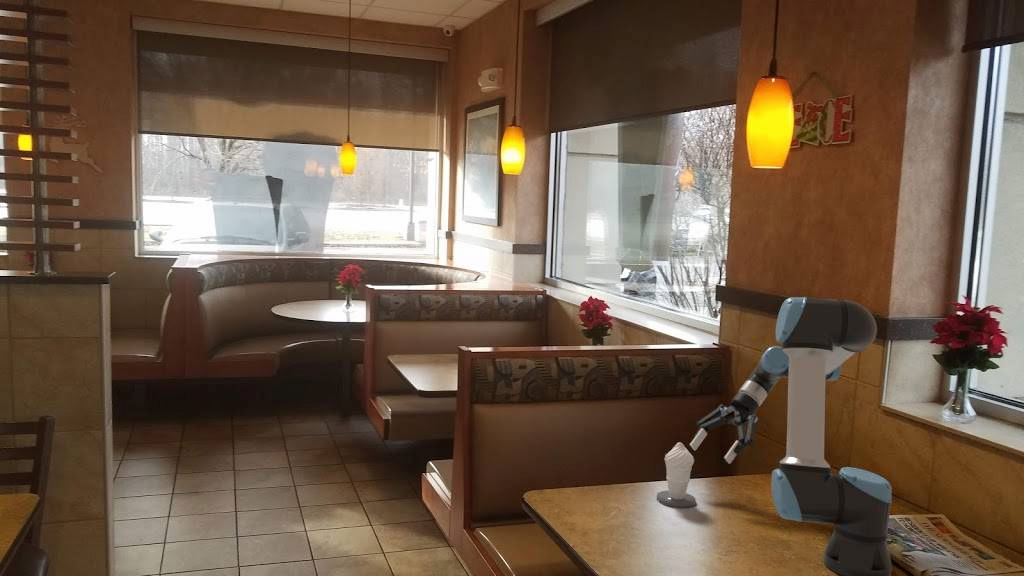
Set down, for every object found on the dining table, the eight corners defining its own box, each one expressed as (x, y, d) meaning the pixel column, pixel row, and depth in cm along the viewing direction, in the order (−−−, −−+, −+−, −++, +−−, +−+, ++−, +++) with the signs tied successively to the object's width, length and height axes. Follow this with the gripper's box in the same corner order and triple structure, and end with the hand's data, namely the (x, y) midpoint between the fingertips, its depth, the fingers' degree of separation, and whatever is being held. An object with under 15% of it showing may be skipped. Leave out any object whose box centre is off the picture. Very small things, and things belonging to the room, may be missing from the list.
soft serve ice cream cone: (691, 503, 228) (695, 448, 226) (661, 500, 229) (665, 445, 228) (691, 493, 236) (694, 440, 234) (662, 490, 238) (665, 437, 236)
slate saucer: (689, 511, 225) (689, 507, 225) (651, 502, 231) (651, 498, 230) (700, 499, 235) (700, 496, 235) (663, 491, 240) (664, 487, 240)
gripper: (787, 417, 235) (748, 474, 228) (722, 398, 256) (684, 449, 249) (777, 401, 231) (736, 458, 225) (712, 382, 252) (673, 434, 246)
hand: (709, 454), depth 237 cm, fingers open, 13 cm apart
